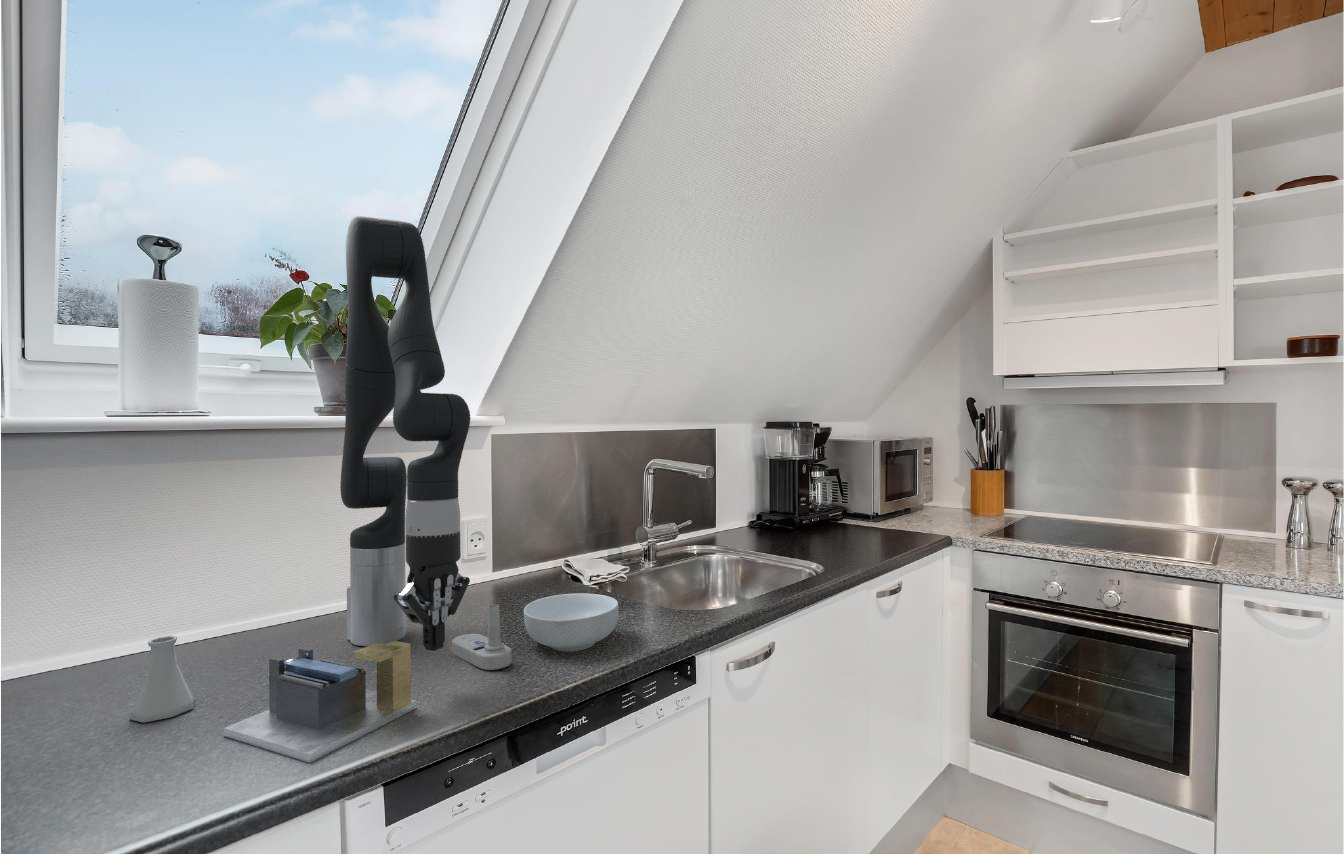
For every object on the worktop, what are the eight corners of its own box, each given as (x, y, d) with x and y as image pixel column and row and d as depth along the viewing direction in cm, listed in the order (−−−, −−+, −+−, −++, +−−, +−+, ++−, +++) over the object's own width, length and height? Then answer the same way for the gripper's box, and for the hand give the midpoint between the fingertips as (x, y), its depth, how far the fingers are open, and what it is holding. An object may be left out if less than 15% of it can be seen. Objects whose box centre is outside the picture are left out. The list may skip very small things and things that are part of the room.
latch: (354, 713, 86) (353, 651, 86) (386, 697, 91) (386, 639, 91) (378, 719, 84) (378, 656, 84) (410, 703, 89) (410, 643, 89)
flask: (187, 696, 94) (186, 627, 94) (203, 709, 90) (202, 637, 90) (122, 713, 89) (122, 640, 89) (136, 729, 84) (135, 652, 84)
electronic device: (474, 591, 117) (516, 605, 106) (475, 646, 116) (517, 666, 105) (445, 597, 113) (485, 612, 102) (446, 653, 113) (487, 675, 102)
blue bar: (278, 672, 88) (278, 661, 88) (297, 664, 90) (297, 654, 90) (338, 684, 83) (338, 673, 83) (357, 676, 85) (357, 665, 85)
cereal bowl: (556, 625, 127) (556, 589, 127) (634, 634, 121) (633, 597, 121) (503, 653, 111) (503, 612, 111) (589, 666, 105) (589, 623, 105)
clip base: (223, 735, 82) (223, 672, 82) (336, 688, 97) (335, 634, 96) (309, 762, 75) (309, 693, 75) (416, 707, 90) (416, 650, 90)
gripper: (417, 538, 87) (418, 667, 87) (484, 524, 99) (485, 638, 99) (377, 535, 90) (378, 659, 90) (447, 522, 102) (447, 632, 102)
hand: (434, 648), depth 95 cm, fingers closed
